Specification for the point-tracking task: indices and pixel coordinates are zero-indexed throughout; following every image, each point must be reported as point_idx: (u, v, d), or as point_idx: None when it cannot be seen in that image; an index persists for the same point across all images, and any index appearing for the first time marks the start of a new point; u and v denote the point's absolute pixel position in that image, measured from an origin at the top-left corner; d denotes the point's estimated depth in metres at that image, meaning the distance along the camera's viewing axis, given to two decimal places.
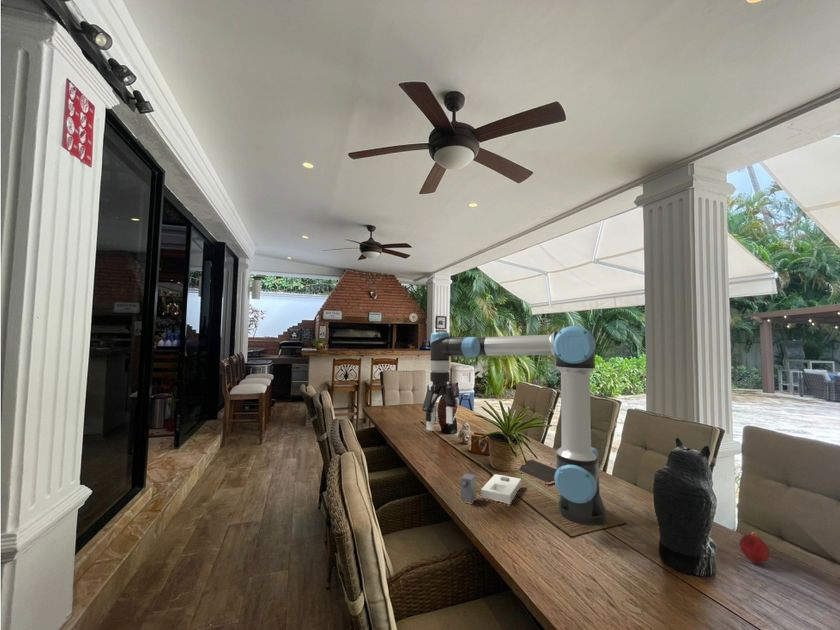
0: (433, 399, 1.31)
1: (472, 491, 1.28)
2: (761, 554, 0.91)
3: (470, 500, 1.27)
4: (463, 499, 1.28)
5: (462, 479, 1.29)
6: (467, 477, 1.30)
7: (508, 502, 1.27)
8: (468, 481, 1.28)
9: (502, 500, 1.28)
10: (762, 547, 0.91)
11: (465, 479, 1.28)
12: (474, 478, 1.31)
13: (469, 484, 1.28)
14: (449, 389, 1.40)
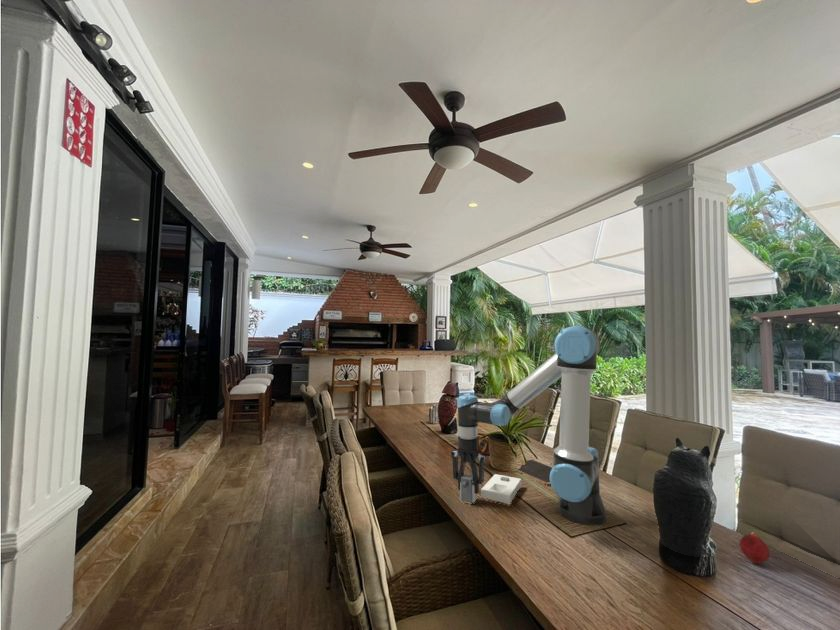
0: None
1: None
2: (761, 554, 0.91)
3: (470, 500, 1.27)
4: (463, 499, 1.28)
5: (462, 479, 1.29)
6: (467, 477, 1.30)
7: (508, 502, 1.27)
8: (468, 481, 1.28)
9: (502, 500, 1.28)
10: (762, 547, 0.91)
11: (465, 479, 1.29)
12: None
13: (469, 484, 1.28)
14: None
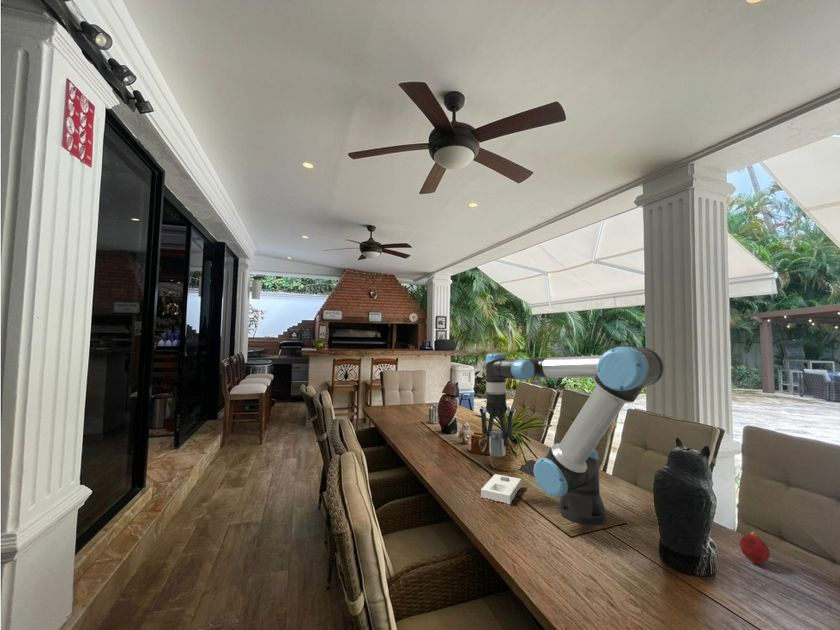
0: None
1: (501, 444, 1.32)
2: (761, 554, 0.91)
3: (500, 452, 1.31)
4: (493, 452, 1.33)
5: (491, 433, 1.33)
6: (496, 431, 1.34)
7: (508, 502, 1.27)
8: (498, 434, 1.32)
9: (502, 500, 1.28)
10: (762, 547, 0.91)
11: (494, 433, 1.33)
12: None
13: (499, 437, 1.32)
14: None
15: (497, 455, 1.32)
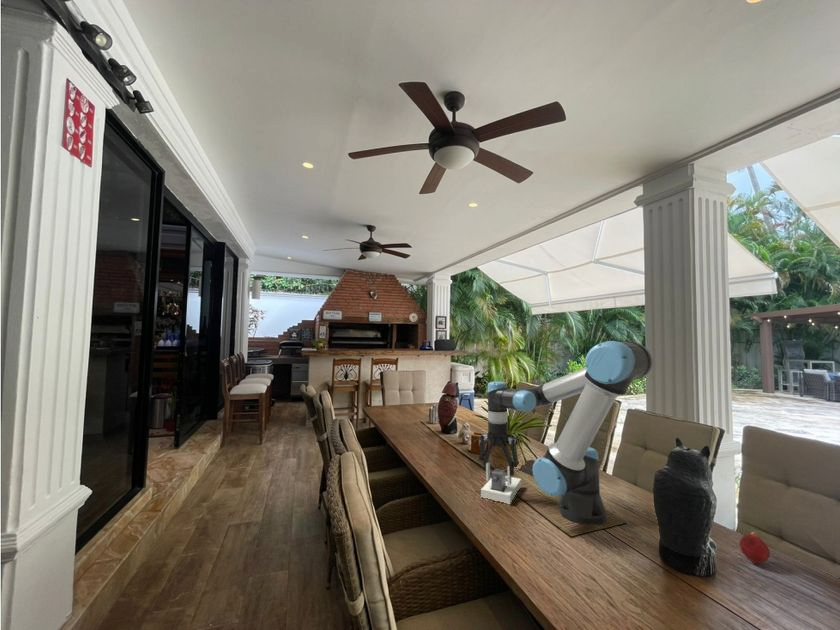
0: (488, 449, 1.36)
1: (502, 486, 1.32)
2: (762, 555, 0.91)
3: None
4: None
5: (493, 474, 1.33)
6: (497, 472, 1.33)
7: (508, 502, 1.27)
8: (499, 476, 1.31)
9: (502, 500, 1.28)
10: (762, 547, 0.91)
11: (496, 474, 1.32)
12: (504, 473, 1.34)
13: (500, 479, 1.31)
14: None
15: None
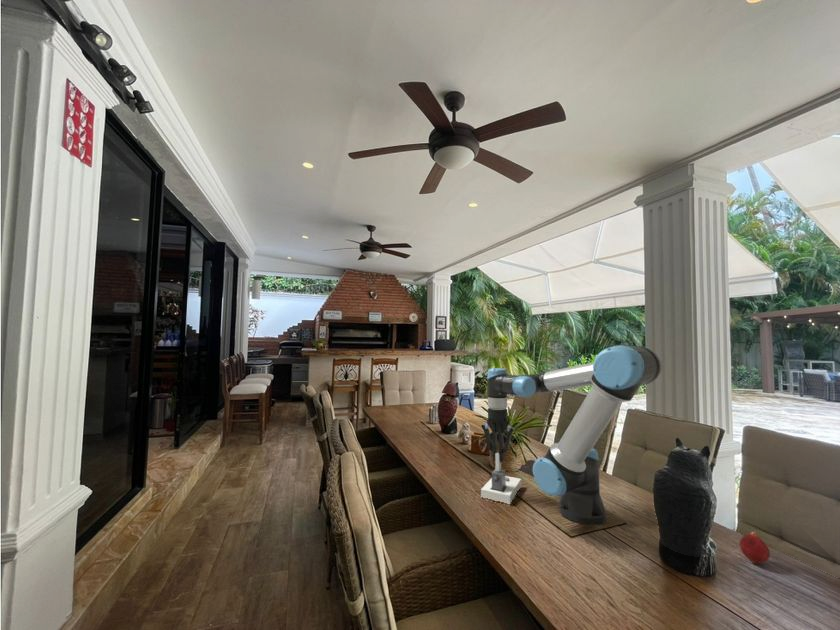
0: None
1: (503, 486, 1.32)
2: (761, 554, 0.91)
3: None
4: None
5: (493, 474, 1.33)
6: (497, 472, 1.33)
7: (508, 502, 1.27)
8: (499, 476, 1.31)
9: (502, 500, 1.28)
10: (762, 547, 0.91)
11: (496, 474, 1.32)
12: (504, 473, 1.34)
13: (500, 479, 1.31)
14: None
15: None
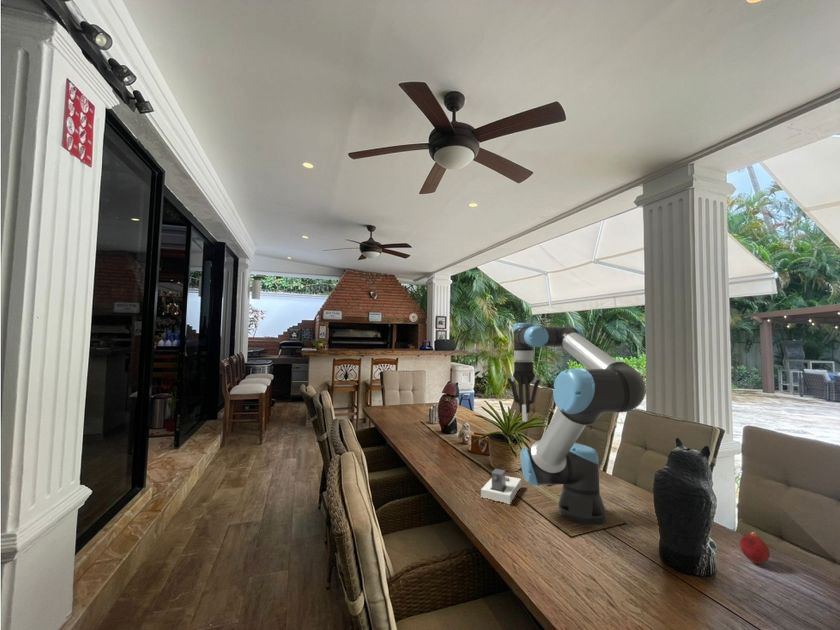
0: None
1: (503, 486, 1.32)
2: (761, 554, 0.91)
3: None
4: None
5: (493, 474, 1.33)
6: (497, 472, 1.33)
7: (508, 502, 1.27)
8: (499, 476, 1.31)
9: (502, 500, 1.28)
10: (762, 547, 0.91)
11: (496, 474, 1.32)
12: (504, 473, 1.34)
13: (500, 479, 1.31)
14: None
15: None
